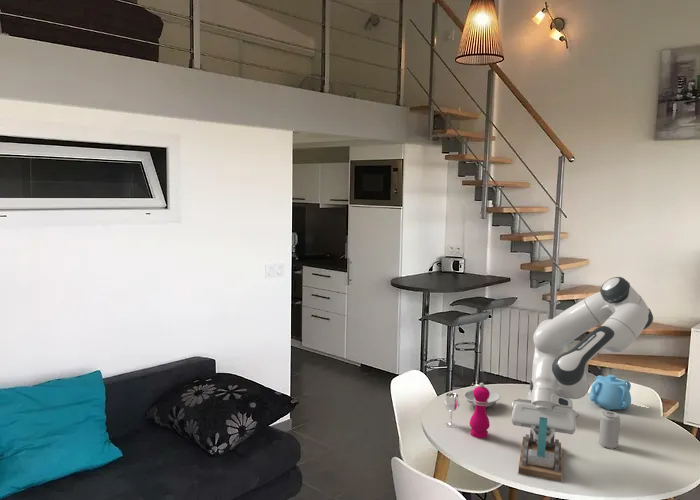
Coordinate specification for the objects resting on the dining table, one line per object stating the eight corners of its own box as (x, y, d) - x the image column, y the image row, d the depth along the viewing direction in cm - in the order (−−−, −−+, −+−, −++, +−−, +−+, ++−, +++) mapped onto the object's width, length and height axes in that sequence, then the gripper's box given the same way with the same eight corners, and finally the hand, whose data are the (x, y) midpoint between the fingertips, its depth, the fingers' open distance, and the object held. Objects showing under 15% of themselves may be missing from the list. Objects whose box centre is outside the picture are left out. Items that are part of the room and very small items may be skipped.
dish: (485, 417, 235) (485, 405, 234) (455, 407, 245) (455, 395, 244) (506, 406, 248) (507, 395, 247) (477, 397, 257) (478, 386, 257)
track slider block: (528, 457, 195) (530, 414, 193) (553, 461, 192) (556, 418, 191) (527, 463, 190) (530, 419, 189) (553, 468, 188) (556, 423, 186)
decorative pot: (634, 406, 254) (637, 375, 252) (625, 416, 241) (627, 384, 240) (595, 396, 264) (598, 367, 262) (584, 406, 251) (586, 375, 250)
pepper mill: (489, 440, 213) (492, 387, 211) (469, 437, 215) (472, 385, 213) (488, 432, 220) (491, 380, 218) (469, 430, 222) (471, 378, 220)
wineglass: (454, 429, 222) (456, 398, 220) (440, 425, 225) (442, 395, 224) (460, 424, 227) (462, 394, 225) (446, 421, 230) (448, 391, 228)
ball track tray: (522, 441, 213) (524, 423, 212) (560, 448, 208) (562, 429, 208) (518, 473, 188) (519, 452, 188) (561, 481, 184) (562, 460, 183)
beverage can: (616, 443, 214) (619, 412, 213) (618, 450, 208) (621, 418, 207) (598, 440, 216) (600, 409, 215) (599, 447, 210) (601, 415, 209)
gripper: (512, 393, 199) (508, 432, 191) (576, 402, 192) (575, 443, 184) (512, 402, 204) (509, 439, 196) (575, 411, 197) (574, 450, 189)
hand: (541, 441), depth 190 cm, fingers closed on track slider block, 2 cm apart
